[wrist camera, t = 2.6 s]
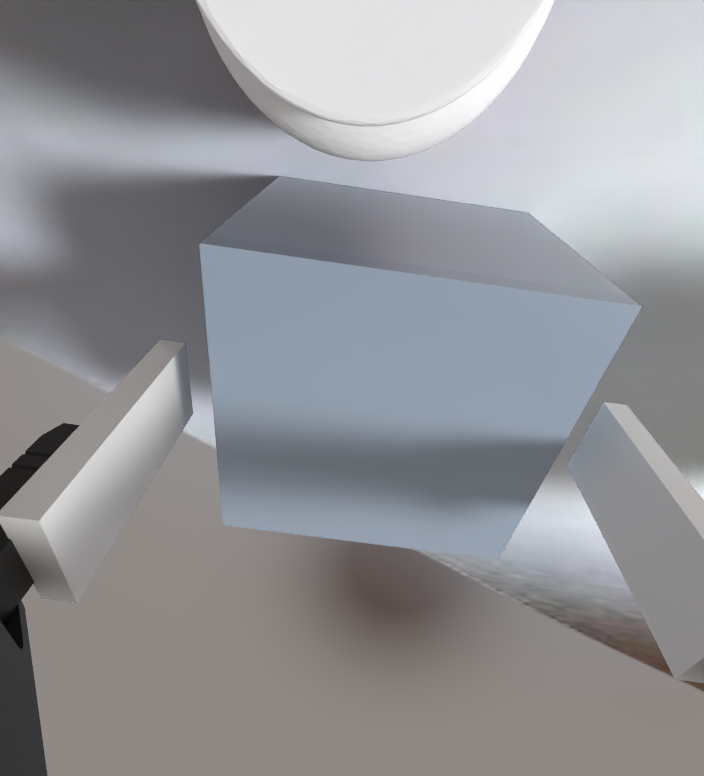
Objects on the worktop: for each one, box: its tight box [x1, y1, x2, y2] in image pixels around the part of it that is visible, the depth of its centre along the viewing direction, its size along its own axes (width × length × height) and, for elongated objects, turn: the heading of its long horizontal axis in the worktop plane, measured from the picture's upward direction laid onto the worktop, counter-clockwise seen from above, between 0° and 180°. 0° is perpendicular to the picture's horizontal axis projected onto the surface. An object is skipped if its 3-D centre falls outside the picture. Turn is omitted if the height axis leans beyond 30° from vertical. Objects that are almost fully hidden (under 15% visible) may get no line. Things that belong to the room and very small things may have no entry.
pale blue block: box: [199, 176, 642, 559], centre depth 15 cm, size 10×10×9 cm
